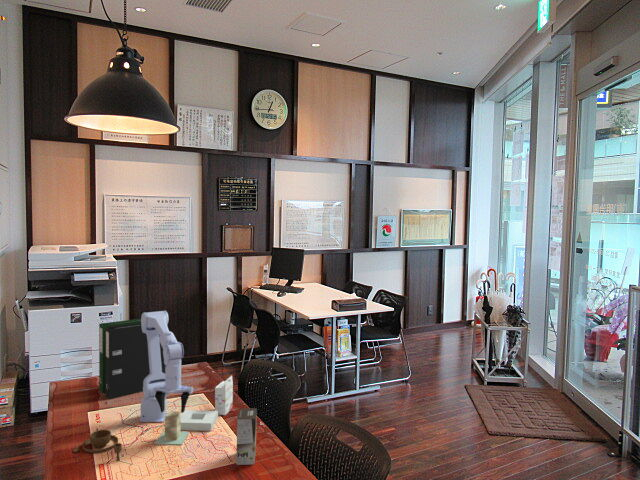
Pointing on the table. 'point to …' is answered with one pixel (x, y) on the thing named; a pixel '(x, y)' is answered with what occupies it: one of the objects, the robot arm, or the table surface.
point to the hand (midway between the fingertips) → (172, 411)
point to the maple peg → (172, 425)
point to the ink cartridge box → (224, 397)
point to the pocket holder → (198, 420)
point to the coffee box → (246, 436)
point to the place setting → (101, 442)
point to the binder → (123, 358)
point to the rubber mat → (179, 441)
